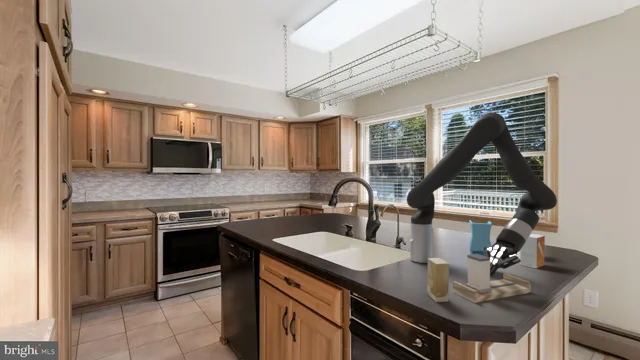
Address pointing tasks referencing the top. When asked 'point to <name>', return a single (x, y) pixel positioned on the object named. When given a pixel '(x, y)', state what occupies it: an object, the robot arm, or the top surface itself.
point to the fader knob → (479, 273)
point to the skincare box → (438, 279)
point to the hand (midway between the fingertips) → (486, 274)
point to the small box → (533, 251)
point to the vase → (479, 237)
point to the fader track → (494, 289)
